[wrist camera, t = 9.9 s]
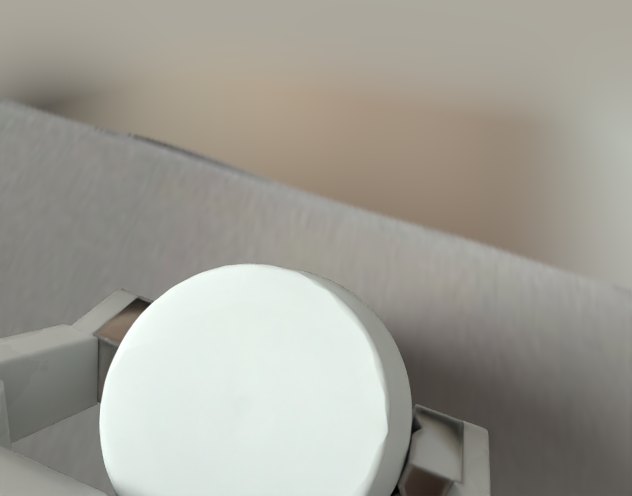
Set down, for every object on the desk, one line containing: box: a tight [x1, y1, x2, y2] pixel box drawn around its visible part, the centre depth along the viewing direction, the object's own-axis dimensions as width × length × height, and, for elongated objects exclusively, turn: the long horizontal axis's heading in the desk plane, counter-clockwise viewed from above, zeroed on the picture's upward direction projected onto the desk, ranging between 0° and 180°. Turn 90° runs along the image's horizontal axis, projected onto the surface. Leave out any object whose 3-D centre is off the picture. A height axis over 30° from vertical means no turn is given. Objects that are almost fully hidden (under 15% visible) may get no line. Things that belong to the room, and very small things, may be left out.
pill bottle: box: [100, 264, 412, 496], centre depth 11 cm, size 5×5×10 cm
